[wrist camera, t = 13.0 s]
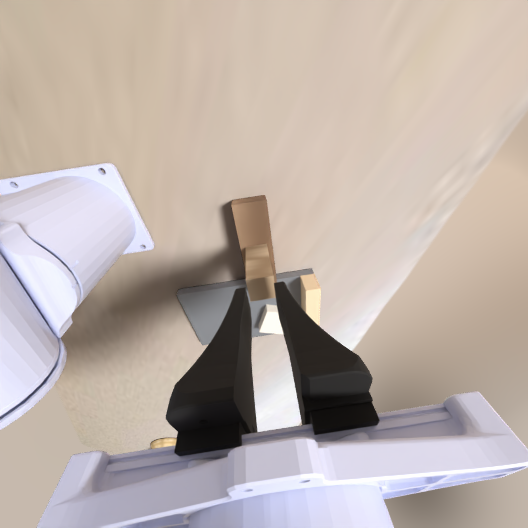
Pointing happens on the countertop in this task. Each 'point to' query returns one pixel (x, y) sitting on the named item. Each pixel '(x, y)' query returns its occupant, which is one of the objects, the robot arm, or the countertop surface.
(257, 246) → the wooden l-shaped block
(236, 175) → the countertop surface
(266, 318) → the tile
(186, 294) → the board
